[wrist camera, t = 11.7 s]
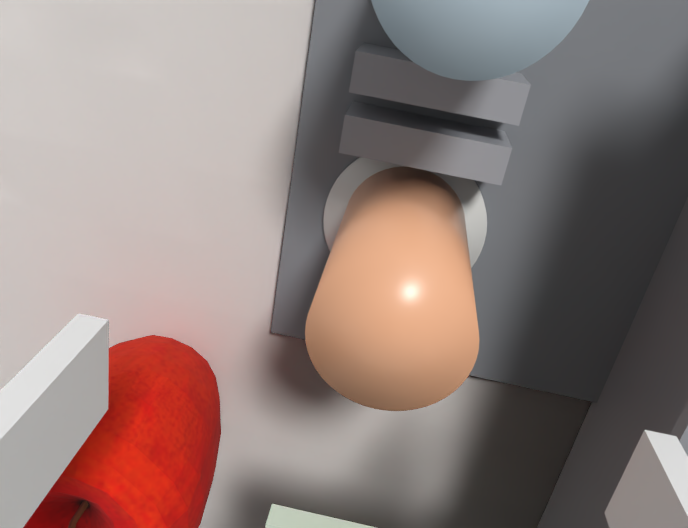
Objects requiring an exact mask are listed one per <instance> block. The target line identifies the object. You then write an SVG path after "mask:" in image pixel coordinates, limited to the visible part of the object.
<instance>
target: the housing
mask: <svg viewBox="0 0 688 528" xmlns="http://www.w3.org/2000/svg"><path fill="white" fill-rule="evenodd" d="M393 167H412V168H417V169H422V170H426V171H429V172H431V173H433V174H435V175H437V176H439V177H440V178H441V179H443V180H444V181H445V182H447V183H448V184H449V185H450V186H451V187H452V189H453V190H454V191H455V193H456V194H457V196H458V198H459V200H460V202H461V204H462V207H463V211H464V215H465V223H466V231H467V240H468V248H469V256H470V264H471V272H472V280H473V288H474V296H475V304H476V313H477V321H478V329H479V351H478V355H477V359H476V362H475V364H474V367H473V369H472V371H471V372H470V374H469V375H471V376H475V377H480V378H485V379H489V380H494V381H498V382H503V383H508V384H512V385H517V386H522V387H526V388H531V389H535V390H540V391H545V392H549V393H554V394H558V395H563V396H568V397H572V398H577V399H582V400H586V401H591V402H592V403H591V405H590V408H589V410H588V412H587V414H586V417H585V419H584V421H583V424H582V426H581V428H580V430H579V433H578V435H577V437H576V440H575V442H574V444H573V446H572V449H571V451H570V453H569V456H568V458H567V460H566V463H565V465H564V467H563V469H562V472H561V474H560V476H559V479H558V481H557V483H556V485H555V488H554V490H553V492H552V495H551V497H550V499H549V501H548V504H547V506H546V508H545V511H544V513H543V515H542V518H541V520H540V522H539V524H538V527H537V528H609V525H608V522H607V519H606V516H605V513H604V512H605V510H606V508H607V506H608V504H609V502H610V500H611V498H612V496H613V494H614V492H615V490H616V487H617V485H618V483H619V481H620V479H621V477H622V475H623V473H624V471H625V469H626V467H627V465H628V463H629V461H630V459H631V456H632V454H633V452H634V450H635V448H636V446H637V444H638V442H639V440H640V438H641V436H642V434H643V432H644V430H648V431H653V432H658V433H663V434H668V435H673V436H677V438H678V440H679V442H680V443H681V445H682V447H683V449H684V451H685V452H686V454H687V456H688V0H316V2H315V10H314V17H313V25H312V32H311V39H310V47H309V54H308V61H307V69H306V76H305V84H304V91H303V98H302V106H301V113H300V120H299V128H298V135H297V142H296V150H295V157H294V165H293V172H292V179H291V187H290V194H289V201H288V209H287V216H286V224H285V231H284V238H283V246H282V253H281V260H280V268H279V275H278V283H277V290H276V297H275V305H274V312H273V319H272V327H271V332H272V333H277V334H281V335H286V336H291V337H295V338H300V339H305V326H306V320H307V316H308V312H309V310H310V307H311V304H312V301H313V299H314V296H315V293H316V290H317V287H318V285H319V282H320V279H321V276H322V274H323V271H324V268H325V265H326V263H327V260H328V257H329V254H330V252H331V249H332V246H333V243H334V241H335V238H336V235H337V232H338V229H339V227H340V224H341V221H342V218H343V216H344V213H345V210H346V207H347V205H348V202H349V200H350V198H351V196H352V194H353V193H354V191H355V190H356V189H357V187H358V186H359V185H360V184H361V183H362V182H363V181H365V180H366V179H367V178H369V177H370V176H372V175H373V174H375V173H377V172H380V171H382V170H385V169H389V168H393Z"/></svg>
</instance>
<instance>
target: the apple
mask: <svg viewBox="0 0 688 528" xmlns="http://www.w3.org/2000/svg"><path fill="white" fill-rule="evenodd" d="M220 435H221V424H220V400H219V393H218V387H217V382H216V377H215V375H214V373H213V371H212V369H211V368H210V366H209V364H208V362H207V361H206V360H205V359H204V358H203V357H202V356H201V355H200V354H198V353H197V352H196V351H195V350H194V349H193V348H192V347H189V346H187V345H185V344H183V343H181V342H179V341H176V340H174V339H172V338H166V337H161V336H155V335H151V336H146V337H142V338H138V339H134V340H130V341H126V342H122V343H119V344H117V345H115V346H113V347H110V348H109V372H108V410H107V411H106V413H105V414H104V416H103V417H102V418H101V420H100V421H99V423H98V424H97V425H96V427H95V428H94V429H93V431H92V432H91V434H90V435H89V436H88V438H87V439H86V441H85V442H84V443H83V445H82V446H81V448H80V449H79V450H78V452H77V453H76V455H75V456H74V457H73V459H72V460H71V462H70V463H69V464H68V466H67V467H66V468H65V470H64V471H63V473H62V474H61V475H60V477H59V478H58V480H57V481H56V482H55V484H54V485H53V487H52V488H51V489H50V491H49V492H48V494H47V495H46V496H45V498H44V499H43V501H42V502H41V503H40V505H39V506H38V508H37V509H36V510H35V512H34V513H33V514H32V516H31V517H30V519H29V520H28V521H27V523H26V524H25V526H24V527H23V528H198V527H199V525H200V523H201V519H202V516H203V512H204V509H205V505H206V502H207V498H208V495H209V491H210V488H211V484H212V481H213V476H214V471H215V467H216V460H217V454H218V447H219V441H220Z"/></svg>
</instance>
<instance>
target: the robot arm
mask: <svg viewBox="0 0 688 528" xmlns="http://www.w3.org/2000/svg"><path fill="white" fill-rule="evenodd" d="M108 372H109V320H108V319H103V318H99V317H94V316H89V315H84V314H79V313H78V314H77V315H76V316H75V317H74V318H73V319H72V320H71V321H70V322H69V323H68V324H67V325H66V326H65V327H64V328H63V329H62V330H61V331H60V332H59V333H58V334H57V335H56V336H55V337H54V338H53V339H52V340H51V341H50V342H49V343H48V344H47V345H46V346H45V347H44V348H43V349H42V350H41V351H40V352H39V353H38V354H37V355H36V356H35V357H34V358H33V359H32V360H31V361H30V362H29V363H28V364H27V365H26V366H25V367H24V368H23V369H22V370H21V371H20V372H19V373H18V374H16V375H15V376H14V377H13V378H12V379H11V380H10V381H9V382H8V383H7V384H6V385H5V386H4V387H3V388H2V389H1V390H0V528H23V527H24V526H25V524H26V523H27V521H28V520H29V519H30V517H31V516H32V514H33V513H34V512H35V510H36V509H37V508H38V506H39V505H40V503H41V502H42V501H43V499H44V498H45V496H46V495H47V494H48V492H49V491H50V489H51V488H52V487H53V485H54V484H55V482H56V481H57V480H58V478H59V477H60V475H61V474H62V473H63V471H64V470H65V468H66V467H67V466H68V464H69V463H70V462H71V460H72V459H73V457H74V456H75V455H76V453H77V452H78V450H79V449H80V448H81V446H82V445H83V443H84V442H85V441H86V439H87V438H88V436H89V435H90V434H91V432H92V431H93V429H94V428H95V427H96V425H97V424H98V423H99V421H100V420H101V418H102V417H103V416H104V414H105V413H106V411H107V410H108ZM604 513H605V516H606V519H607V522H608V525H609V528H688V456H687V454H686V452H685V451H684V449H683V447H682V445H681V443H680V442H679V440H678V438H677V436H673V435H668V434H663V433H658V432H653V431H648V430H644V432H643V434H642V436H641V438H640V440H639V442H638V444H637V446H636V448H635V450H634V452H633V454H632V456H631V459H630V461H629V463H628V465H627V467H626V469H625V471H624V473H623V475H622V477H621V479H620V481H619V483H618V485H617V487H616V490H615V492H614V494H613V496H612V498H611V500H610V502H609V504H608V506H607V508H606V510H605V512H604Z"/></svg>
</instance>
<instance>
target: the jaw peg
mask: <svg viewBox="0 0 688 528" xmlns="http://www.w3.org/2000/svg"><path fill="white" fill-rule="evenodd" d="M305 340H306V346H307V351H308V354H309V356H310V359H311V361H312V363H313V365H314V367H315V369H316V370H317V372H318V373H319V374H320V376H321V377H322V378H323V379H324V380H325V381H326V383H327V384H328V385H329V386H331V387H332V388H333V389H334V390H335V391H337V392H338V393H340V394H341V395H343V396H344V397H346V398H348V399H350V400H352V401H353V402H356V403H358V404H361V405H363V406H367V407H371V408H374V409H380V410H388V411H406V410H413V409H418V408H422V407H426V406H429V405H431V404H434V403H436V402H438V401H440V400H442V399H444V398H446V397H447V396H449V395H450V394H451V393H453V392H454V391H455V390H456V389H457V388H458V387H459V386H461V385H462V383H463V382H464V381H465V380H466V378H467V377H468V376H469V374H470V372H471V371H472V369H473V367H474V364H475V362H476V359H477V355H478V351H479V329H478V321H477V313H476V304H475V296H474V288H473V280H472V272H471V264H470V256H469V248H468V240H467V231H466V223H465V215H464V211H463V207H462V204H461V202H460V200H459V198H458V196H457V194H456V193H455V191H454V190H453V189H452V187H451V186H450V185H449V184H448V183H447V182H445V181H444V180H443V179H441V178H440V177H439V176H437V175H435V174H433V173H431V172H429V171H426V170H422V169H417V168H412V167H393V168H389V169H385V170H382V171H380V172H377V173H375V174H373V175H372V176H370V177H369V178H367V179H366V180H365V181H363V182H362V183H361V184H360V185H359V186H358V187H357V189H356V190H355V191H354V193H353V194H352V196H351V198H350V200H349V202H348V205H347V207H346V210H345V213H344V216H343V218H342V221H341V224H340V227H339V229H338V232H337V235H336V238H335V241H334V243H333V246H332V249H331V252H330V254H329V257H328V260H327V263H326V265H325V268H324V271H323V274H322V276H321V279H320V282H319V285H318V287H317V290H316V293H315V296H314V299H313V301H312V304H311V307H310V310H309V312H308V316H307V320H306V326H305Z"/></svg>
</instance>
